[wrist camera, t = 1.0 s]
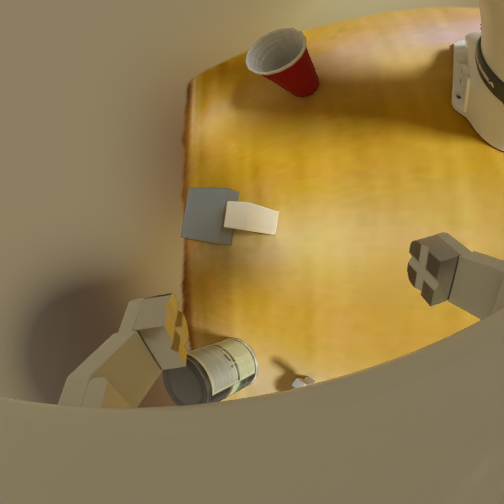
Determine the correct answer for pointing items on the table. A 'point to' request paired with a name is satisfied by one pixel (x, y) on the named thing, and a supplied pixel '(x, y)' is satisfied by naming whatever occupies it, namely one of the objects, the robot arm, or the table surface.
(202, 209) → the gray square block
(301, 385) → the grey bracket piece
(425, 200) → the table surface
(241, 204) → the cream block
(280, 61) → the plastic cup
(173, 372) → the coffee can
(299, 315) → the table surface
